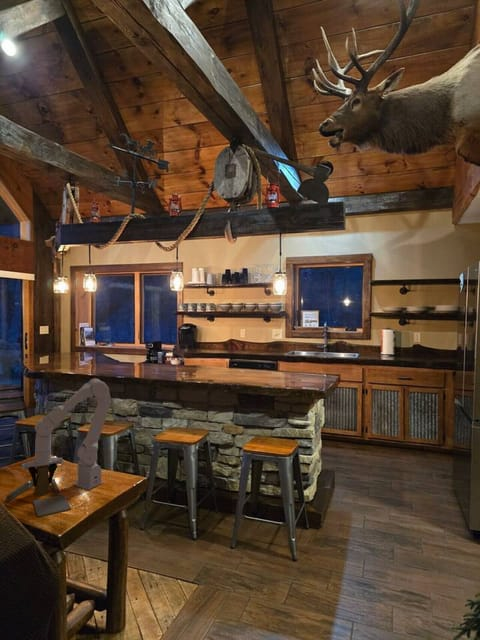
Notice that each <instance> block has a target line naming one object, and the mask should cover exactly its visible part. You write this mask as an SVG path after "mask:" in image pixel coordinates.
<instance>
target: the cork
mask: <svg viewBox="0 0 480 640" xmlns="http://www.w3.org/2000/svg"><path fill="white" fill-rule="evenodd" d="M35 468H36V476H37V477H36V486H35V487H34V490H33V495H34V496H36V497H43V496H47V495H49V494H50V493H51V484H49V471H50V466H49V465H45V466H39V467H35Z"/></svg>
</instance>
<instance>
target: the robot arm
mask: <svg viewBox="0 0 480 640" xmlns="http://www.w3.org/2000/svg"><path fill="white" fill-rule="evenodd" d="M93 397H94V398H95V400H96V401H97V405H96V407H95V411H94V414H93V417H92V420H91V422H90V426H89V428H88V430H87V431H88V432H87V433H86V438H84V440H83V441H82V443H81V444H80V446H79V447H78V448H77V451H76V455H77V457H78V458H79V460H78V461H77V481H76V482H73V483H72V486H75V487H78V488H81V489H85V490H91V489H93V488H96V487H97V486H99V485H101V484H103V481H102V468H101V465H99V464H97V459H98V451H99V439H100V437H101V433H102V430H103V429H104V425H105V422H106V419H107V415H108V413H109V410H110V407H111V404H112V398H111V394H110V387H109V386H108V385H107V384H106V382H104V381H102V380H100V378H91V379H90V380H89V381H88V382H86V383H84V384H83V385H82V386H81V387H80V389H78V390H77V391H76V392H75V393H74V394H73V395H72V396H71V397H70V398H69V399H68V400H66V401H65V403H64V404H61V405H57V406H53V408H51V410H50V412H49V413H48V414H46V416H43V417H42V419H39V420H38V421H37V422H36V423H35V425H34V431H35V432H36V433H35V440H34V441H35V444H34V448H35V449H34V452H35V453H34V460H32V461H29V462H25V463H22V464H21V469H22V471H25V470H26V469H27V470H28V473H29V474H30V477H31V478H32V479H33V487H34V488H35V486H36V476H37V474H36V467H39V466H45V465H49V466H50V471H49V473H48V475H49V484H50V485H51V482H52V479H54V478H53V477H54V474H55V473H56V471H57V469H58V464H59V465H62V464H64V463H63V462H64V461H63V460H64V459H63V457H52V433H53V430H54V428H55V427H57V426H58V425H60V423H62V422H63V421H64V420H65V419H66V418H67V417H68V416H69V411H71V410H72V409H73V408H74V407H76V406H77V405H78V404H79V403H80V402H81V401H83V400H84V399H87V398H93Z"/></svg>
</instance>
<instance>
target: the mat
mask: <svg viewBox="0 0 480 640" xmlns="http://www.w3.org/2000/svg"><path fill="white" fill-rule="evenodd" d="M32 502H33V503H32V504H33V506H34V509H35V513H36V516H37V518H39V517H45V516H49V515H54V514H58V512H59V513H62V512H67V511H71V510H72V508H71V505H70V503H69V500H67V497H66V495H65V494H60V495H59V496H56V495H55V496H52V497H51V496H50V497H47V498H41V499H36V500H33V501H32Z"/></svg>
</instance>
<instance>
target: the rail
mask: <svg viewBox="0 0 480 640" xmlns="http://www.w3.org/2000/svg"><path fill="white" fill-rule="evenodd" d="M50 487H52V491H53V493H54V495H55V497H56V496H60V488H59V487H58V484H57V482H56V479H55V478H52V482H51V484H50Z"/></svg>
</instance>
